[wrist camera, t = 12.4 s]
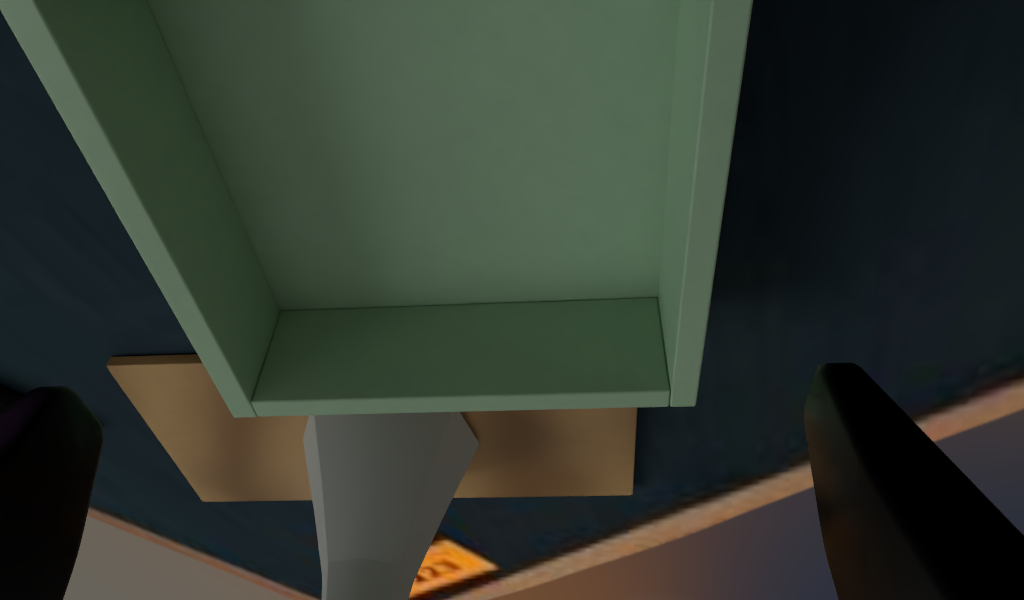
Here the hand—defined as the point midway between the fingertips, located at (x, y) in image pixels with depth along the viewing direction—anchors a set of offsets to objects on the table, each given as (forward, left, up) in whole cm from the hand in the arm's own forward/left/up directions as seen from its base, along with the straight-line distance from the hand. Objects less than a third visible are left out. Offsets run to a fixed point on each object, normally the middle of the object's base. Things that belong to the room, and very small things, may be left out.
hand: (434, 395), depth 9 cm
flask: (+6, +19, -13) cm, 23 cm away
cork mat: (+6, +19, -13) cm, 24 cm away
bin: (+2, +5, -13) cm, 14 cm away
